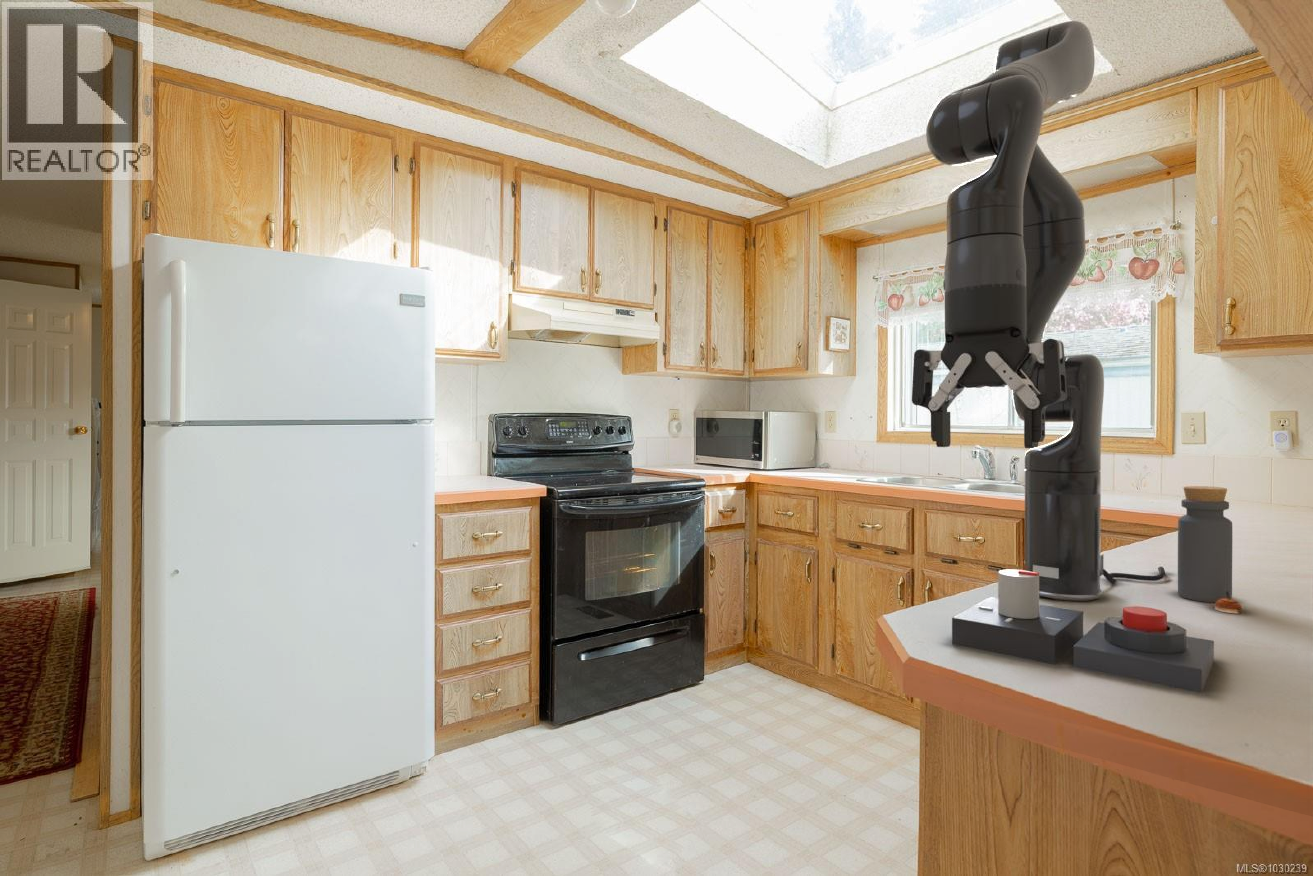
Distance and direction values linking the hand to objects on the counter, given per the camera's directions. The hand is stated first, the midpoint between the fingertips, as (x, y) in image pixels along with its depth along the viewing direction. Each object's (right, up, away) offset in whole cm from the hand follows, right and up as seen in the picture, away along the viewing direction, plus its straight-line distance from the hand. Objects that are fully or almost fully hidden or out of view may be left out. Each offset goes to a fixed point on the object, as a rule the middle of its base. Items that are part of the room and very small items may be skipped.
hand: (985, 447), depth 72 cm
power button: (+15, -18, -2) cm, 23 cm away
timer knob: (+6, -18, +6) cm, 20 cm away
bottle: (+41, -21, +24) cm, 52 cm away
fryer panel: (+6, -22, +6) cm, 23 cm away
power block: (+15, -22, -2) cm, 26 cm away
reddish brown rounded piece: (+39, -21, +18) cm, 48 cm away
